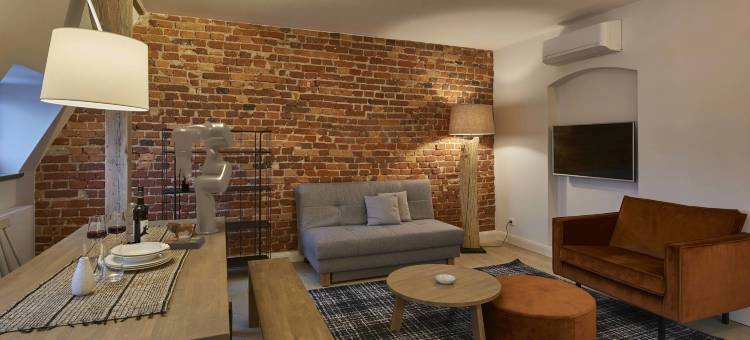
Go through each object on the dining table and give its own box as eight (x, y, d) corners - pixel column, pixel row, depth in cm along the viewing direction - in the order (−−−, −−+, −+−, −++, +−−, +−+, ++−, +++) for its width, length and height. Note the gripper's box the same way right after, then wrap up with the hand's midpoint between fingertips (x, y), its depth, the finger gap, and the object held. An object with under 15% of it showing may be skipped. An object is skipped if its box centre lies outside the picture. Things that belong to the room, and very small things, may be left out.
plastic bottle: (136, 244, 206) (134, 204, 204) (122, 244, 206) (120, 203, 204) (143, 241, 212) (142, 202, 211) (130, 241, 212) (128, 202, 211)
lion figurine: (168, 240, 215) (167, 222, 214) (166, 238, 219) (166, 221, 219) (198, 236, 222) (198, 219, 222) (197, 234, 227) (196, 218, 226)
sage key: (192, 242, 205) (192, 237, 205) (201, 241, 206) (201, 237, 206) (190, 244, 201) (190, 239, 201) (198, 243, 202) (198, 239, 202)
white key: (181, 240, 205) (181, 235, 204) (189, 240, 205) (189, 235, 205) (178, 242, 201) (178, 237, 200) (187, 242, 201) (187, 237, 201)
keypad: (169, 243, 207) (169, 237, 207) (204, 242, 209) (204, 236, 209) (161, 250, 195) (161, 243, 195) (198, 248, 197) (198, 242, 197)
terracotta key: (169, 242, 204) (169, 238, 204) (178, 242, 204) (178, 237, 204) (167, 244, 200) (166, 240, 200) (176, 244, 200) (175, 239, 200)
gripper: (180, 153, 212) (182, 189, 214) (170, 155, 197) (172, 194, 199) (196, 153, 213) (197, 189, 215) (187, 155, 198) (188, 193, 200)
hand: (185, 191), depth 207 cm, fingers closed
